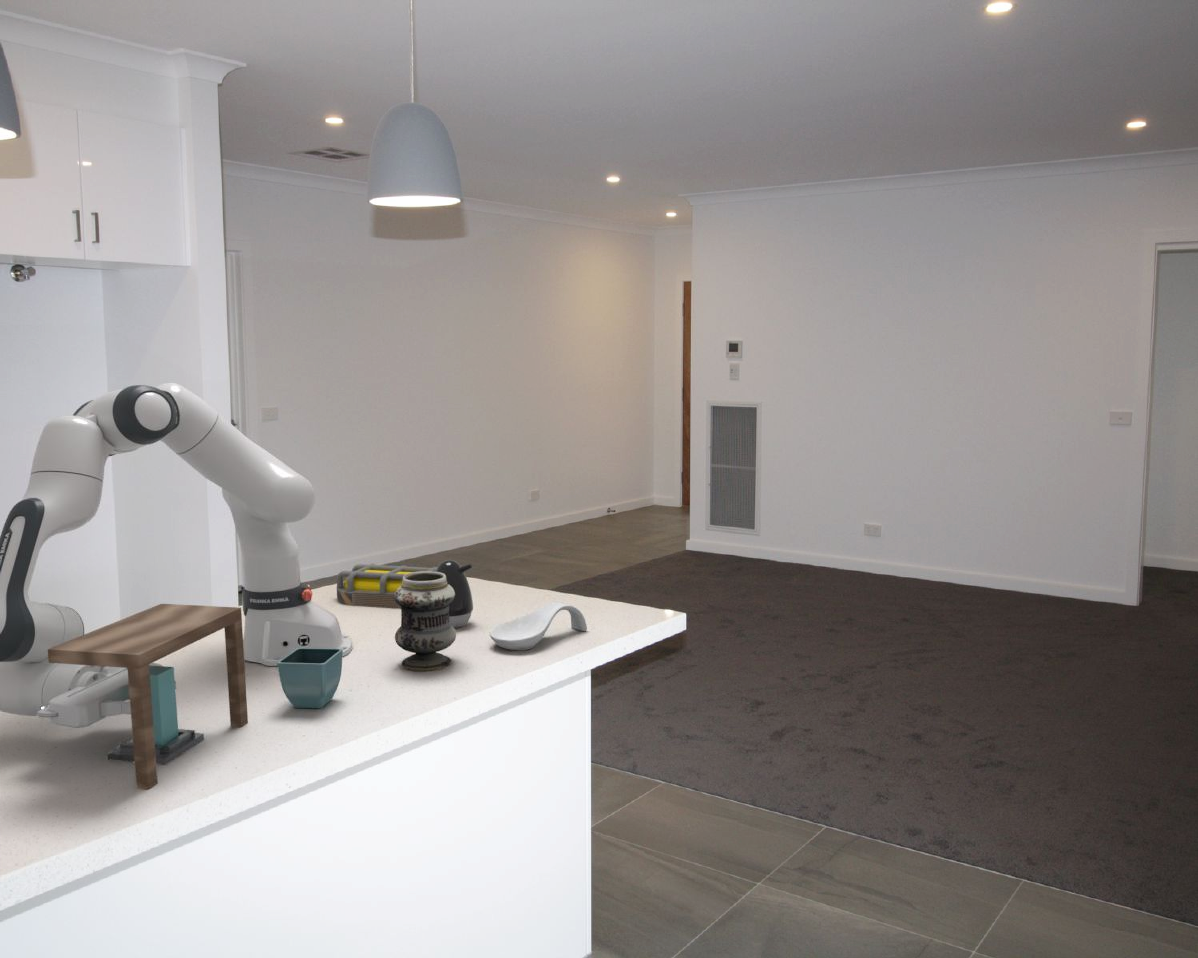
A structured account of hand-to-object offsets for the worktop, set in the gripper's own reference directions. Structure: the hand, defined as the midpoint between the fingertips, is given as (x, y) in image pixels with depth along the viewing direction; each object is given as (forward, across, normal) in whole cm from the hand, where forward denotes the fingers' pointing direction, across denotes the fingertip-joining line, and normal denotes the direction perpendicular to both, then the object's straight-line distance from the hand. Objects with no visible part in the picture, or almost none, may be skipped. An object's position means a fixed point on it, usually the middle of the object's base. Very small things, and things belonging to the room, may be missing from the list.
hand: (154, 696), depth 157 cm
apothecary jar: (+26, +48, +9) cm, 56 cm away
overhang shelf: (0, 0, +9) cm, 9 cm away
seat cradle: (0, 0, +9) cm, 9 cm away
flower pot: (+14, +23, +9) cm, 29 cm away
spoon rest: (+44, +68, +9) cm, 81 cm away
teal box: (0, 0, +8) cm, 8 cm away
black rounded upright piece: (+21, +75, +9) cm, 79 cm away
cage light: (-1, +95, +9) cm, 95 cm away
